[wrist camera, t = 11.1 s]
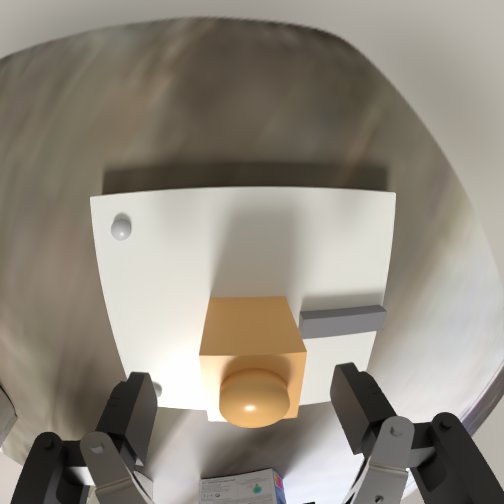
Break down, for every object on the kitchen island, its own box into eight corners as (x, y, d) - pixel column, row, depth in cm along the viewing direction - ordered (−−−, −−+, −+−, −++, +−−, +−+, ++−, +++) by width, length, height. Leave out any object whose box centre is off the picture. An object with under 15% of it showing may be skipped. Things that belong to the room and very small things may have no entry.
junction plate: (352, 384, 20) (374, 429, 15) (141, 391, 19) (124, 440, 14) (383, 191, 16) (437, 201, 11) (101, 194, 15) (50, 206, 10)
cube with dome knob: (285, 296, 16) (312, 366, 10) (281, 355, 17) (300, 431, 11) (209, 297, 16) (195, 371, 9) (214, 357, 17) (207, 435, 10)
